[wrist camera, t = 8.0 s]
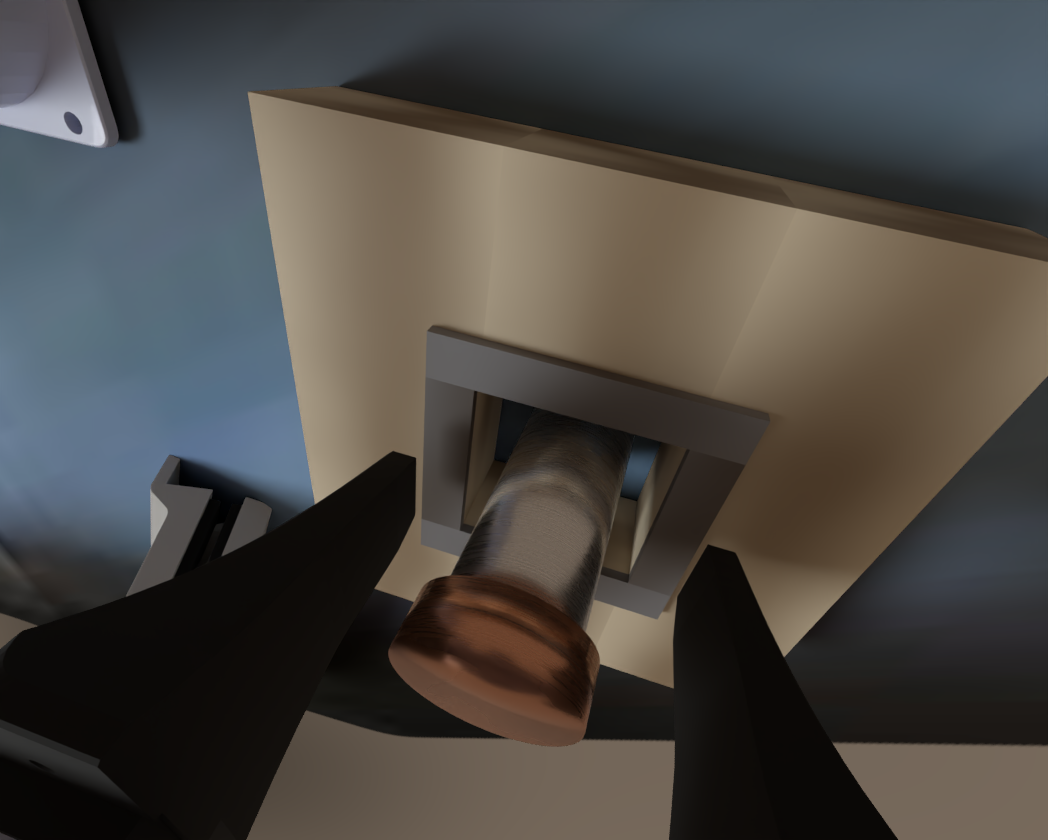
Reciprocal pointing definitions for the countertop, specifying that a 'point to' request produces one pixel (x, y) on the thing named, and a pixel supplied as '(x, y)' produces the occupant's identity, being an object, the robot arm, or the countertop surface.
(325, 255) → the block
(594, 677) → the pin
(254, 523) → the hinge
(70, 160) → the countertop surface
